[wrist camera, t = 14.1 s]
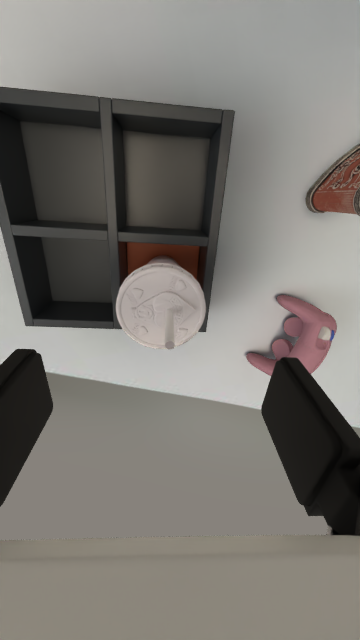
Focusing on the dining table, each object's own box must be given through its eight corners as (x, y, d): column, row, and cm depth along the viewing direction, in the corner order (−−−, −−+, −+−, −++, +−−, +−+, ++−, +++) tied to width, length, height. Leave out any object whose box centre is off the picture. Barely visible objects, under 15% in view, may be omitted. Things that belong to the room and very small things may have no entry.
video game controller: (263, 356, 34) (305, 393, 29) (240, 358, 31) (282, 399, 26) (298, 293, 30) (355, 322, 25) (276, 289, 27) (334, 322, 22)
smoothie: (194, 299, 27) (217, 387, 14) (136, 303, 27) (110, 395, 14) (192, 239, 24) (220, 284, 12) (128, 243, 24) (85, 293, 11)
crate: (220, 129, 21) (235, 110, 16) (199, 310, 28) (205, 332, 24) (10, 109, 19) (-37, 82, 15) (49, 304, 27) (25, 326, 23)
